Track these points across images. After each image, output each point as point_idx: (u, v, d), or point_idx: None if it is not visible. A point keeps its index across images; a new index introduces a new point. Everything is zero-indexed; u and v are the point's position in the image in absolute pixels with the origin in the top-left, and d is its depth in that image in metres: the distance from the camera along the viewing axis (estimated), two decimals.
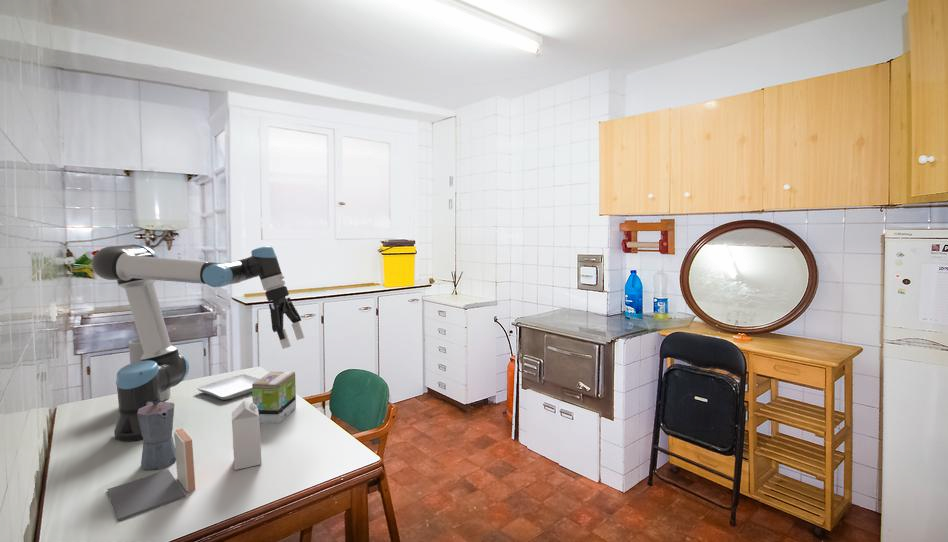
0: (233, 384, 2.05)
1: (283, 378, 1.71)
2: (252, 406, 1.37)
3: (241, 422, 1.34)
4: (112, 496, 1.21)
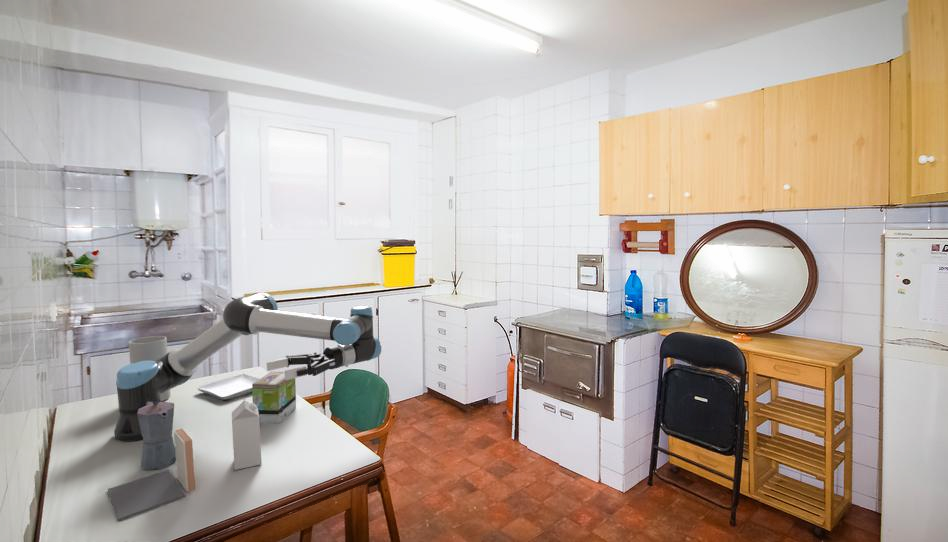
0: (233, 384, 2.05)
1: (283, 378, 1.71)
2: (252, 406, 1.37)
3: (241, 422, 1.34)
4: (112, 496, 1.21)
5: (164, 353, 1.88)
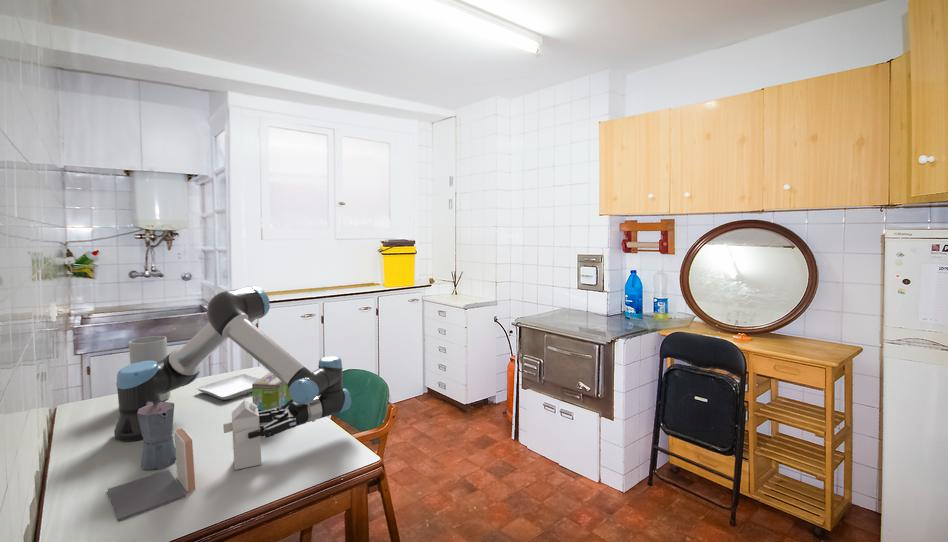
0: (233, 384, 2.05)
1: None
2: (252, 406, 1.37)
3: (241, 422, 1.34)
4: (112, 496, 1.21)
5: (164, 353, 1.88)
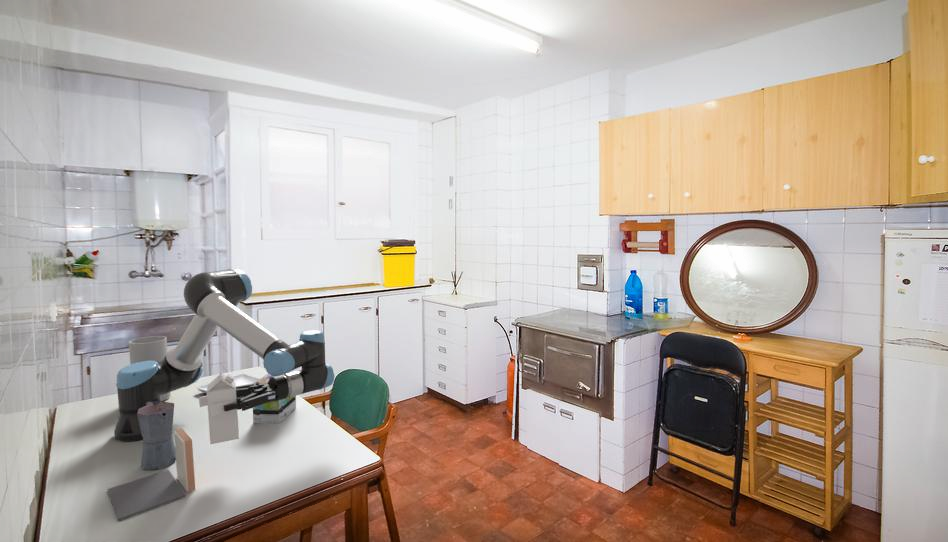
0: None
1: None
2: (228, 378, 1.32)
3: (216, 394, 1.29)
4: (112, 496, 1.21)
5: (164, 353, 1.88)
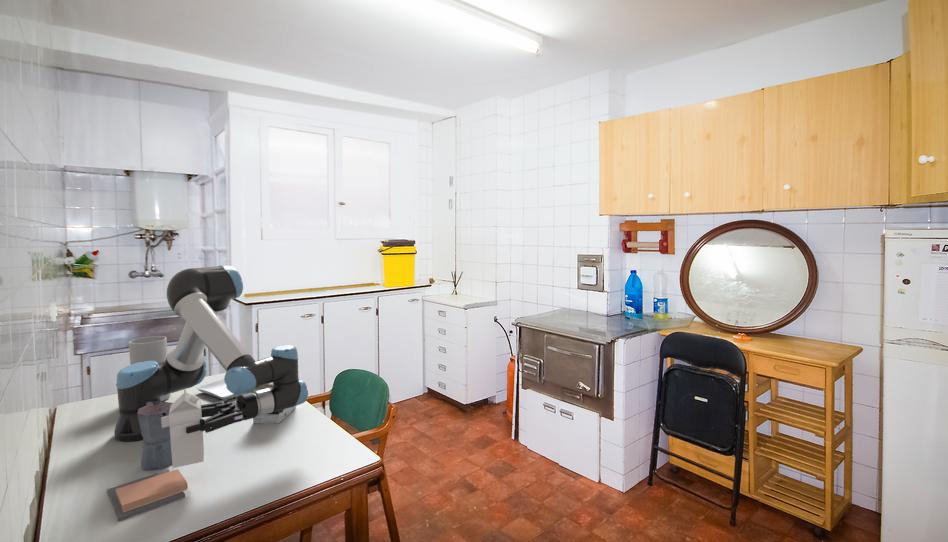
0: None
1: None
2: (193, 398, 1.25)
3: (179, 415, 1.22)
4: (112, 496, 1.21)
5: (164, 353, 1.88)
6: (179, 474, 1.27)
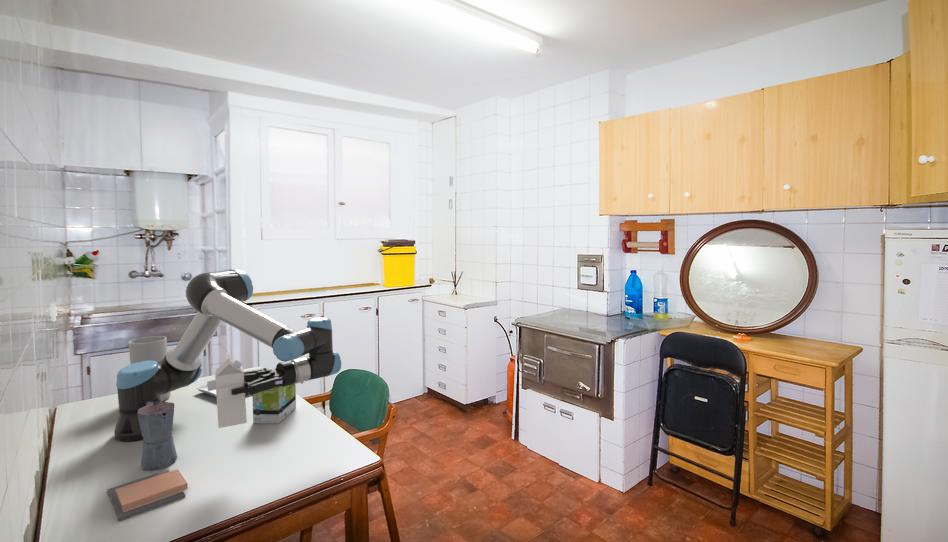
0: None
1: None
2: (237, 363, 1.33)
3: (224, 378, 1.29)
4: (112, 496, 1.21)
5: (164, 353, 1.88)
6: (179, 474, 1.27)
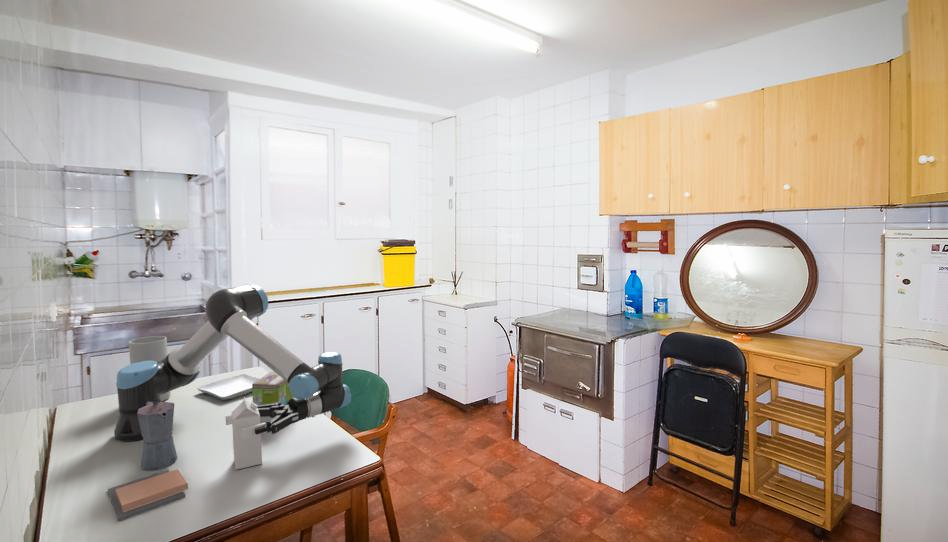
0: (233, 384, 2.05)
1: None
2: (253, 405, 1.38)
3: (242, 421, 1.34)
4: (112, 496, 1.21)
5: (164, 353, 1.88)
6: (179, 474, 1.27)
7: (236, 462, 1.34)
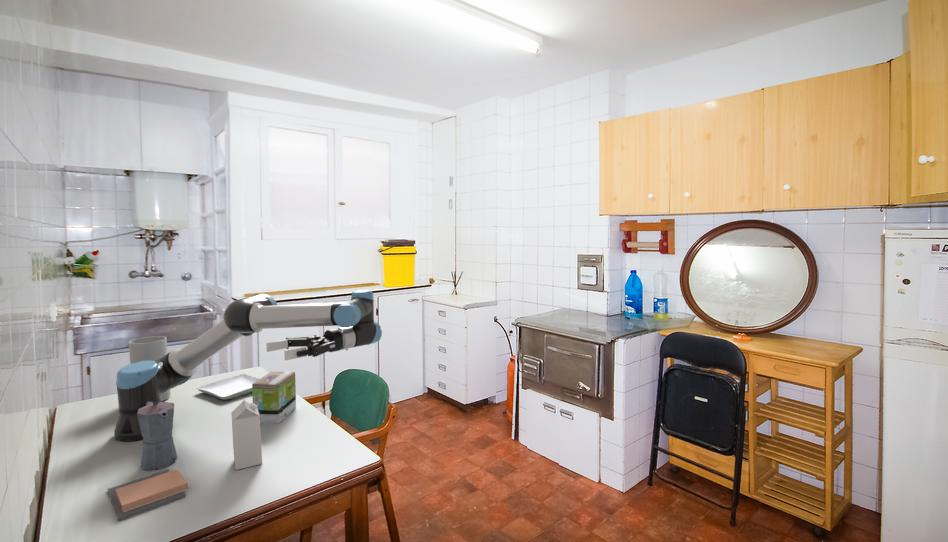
0: (233, 384, 2.05)
1: (283, 378, 1.71)
2: (252, 406, 1.38)
3: (242, 422, 1.34)
4: (112, 496, 1.21)
5: (164, 353, 1.88)
6: (179, 474, 1.27)
7: (236, 462, 1.34)
